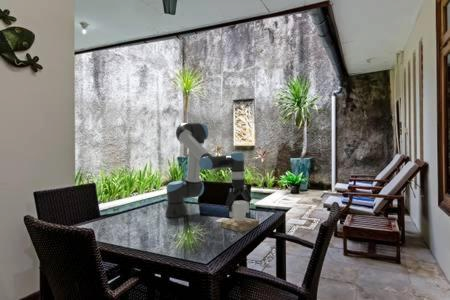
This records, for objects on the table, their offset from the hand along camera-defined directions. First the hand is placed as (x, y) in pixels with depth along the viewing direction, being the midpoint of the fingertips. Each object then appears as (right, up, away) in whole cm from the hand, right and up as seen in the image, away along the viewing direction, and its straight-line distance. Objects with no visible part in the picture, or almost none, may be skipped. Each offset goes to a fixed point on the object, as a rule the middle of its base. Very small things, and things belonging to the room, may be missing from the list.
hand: (239, 214), depth 176 cm
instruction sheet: (-8, -7, +14) cm, 17 cm away
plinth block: (0, -7, 0) cm, 7 cm away
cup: (0, -4, 0) cm, 4 cm away
